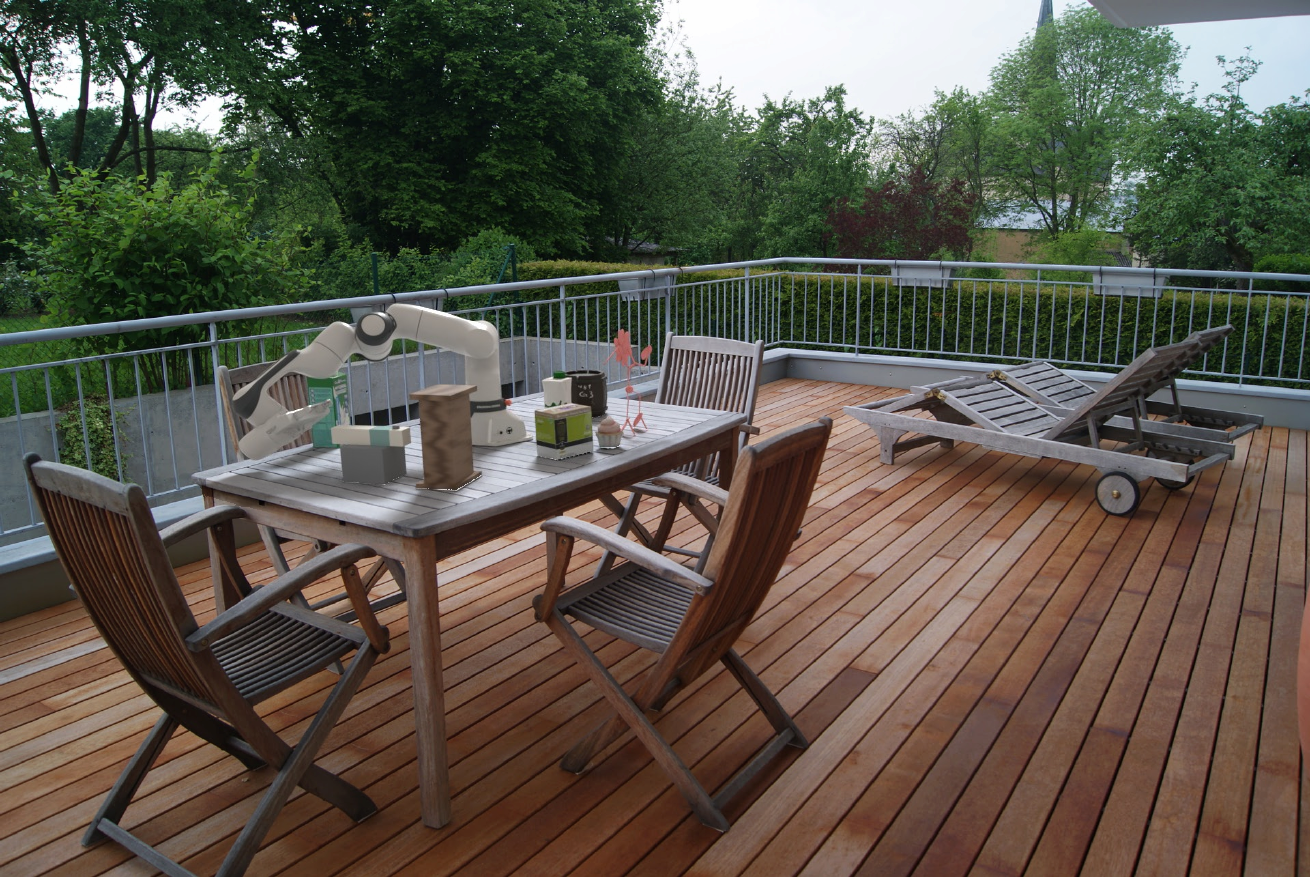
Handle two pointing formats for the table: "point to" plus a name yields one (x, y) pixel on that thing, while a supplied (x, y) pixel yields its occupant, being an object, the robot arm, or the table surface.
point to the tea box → (563, 431)
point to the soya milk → (557, 390)
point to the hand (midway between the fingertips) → (320, 404)
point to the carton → (371, 435)
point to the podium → (372, 463)
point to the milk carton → (339, 410)
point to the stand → (446, 436)
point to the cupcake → (609, 433)
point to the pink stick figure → (622, 355)
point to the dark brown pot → (589, 390)
